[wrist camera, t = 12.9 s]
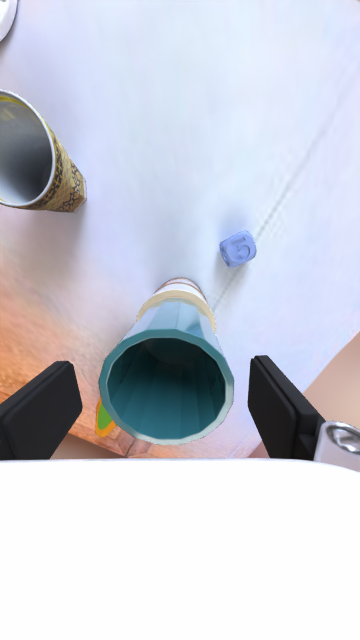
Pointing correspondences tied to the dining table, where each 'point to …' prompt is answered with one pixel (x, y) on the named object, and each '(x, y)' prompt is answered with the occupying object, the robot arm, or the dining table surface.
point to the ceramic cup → (35, 162)
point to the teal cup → (168, 376)
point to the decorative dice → (238, 249)
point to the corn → (103, 421)
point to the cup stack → (180, 296)
